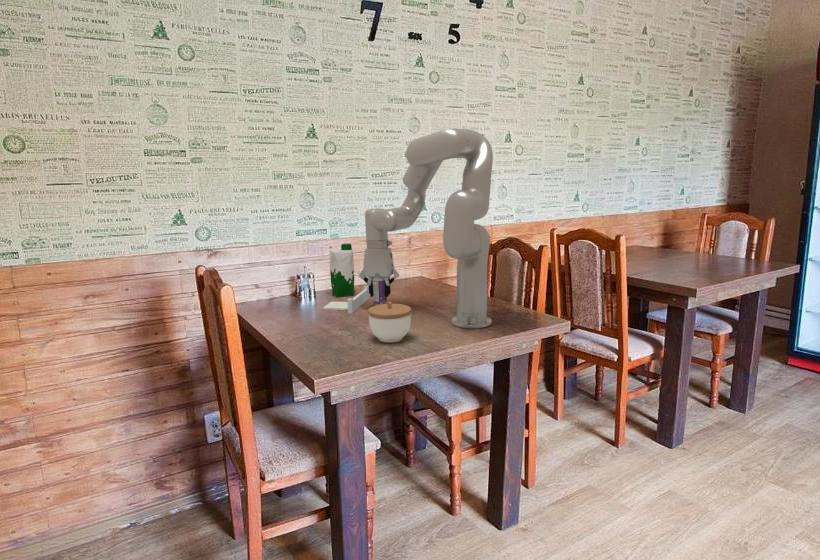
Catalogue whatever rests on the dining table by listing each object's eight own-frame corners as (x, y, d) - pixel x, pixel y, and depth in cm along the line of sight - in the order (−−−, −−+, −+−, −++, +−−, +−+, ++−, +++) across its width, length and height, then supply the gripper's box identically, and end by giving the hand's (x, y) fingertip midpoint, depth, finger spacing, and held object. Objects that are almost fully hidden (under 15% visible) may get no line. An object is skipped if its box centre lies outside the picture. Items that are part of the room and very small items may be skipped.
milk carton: (356, 296, 216) (354, 245, 212) (333, 298, 213) (331, 246, 209) (352, 291, 224) (350, 242, 220) (329, 293, 221) (327, 243, 217)
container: (387, 305, 197) (385, 264, 194) (387, 309, 193) (385, 266, 190) (374, 306, 197) (371, 265, 194) (373, 309, 193) (371, 267, 190)
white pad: (347, 310, 195) (347, 308, 195) (323, 309, 197) (322, 307, 197) (354, 303, 204) (354, 302, 204) (331, 303, 206) (331, 301, 206)
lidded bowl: (360, 339, 162) (358, 302, 160) (391, 329, 171) (390, 295, 169) (389, 348, 154) (387, 310, 151) (420, 338, 162) (420, 301, 160)
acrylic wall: (352, 313, 190) (351, 299, 189) (347, 313, 191) (347, 299, 190) (369, 298, 211) (369, 285, 210) (365, 298, 211) (364, 285, 210)
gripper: (403, 243, 192) (405, 294, 196) (357, 243, 196) (359, 293, 199) (398, 246, 185) (401, 298, 189) (350, 246, 189) (353, 298, 192)
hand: (379, 295), depth 194 cm, fingers closed on container, 4 cm apart
